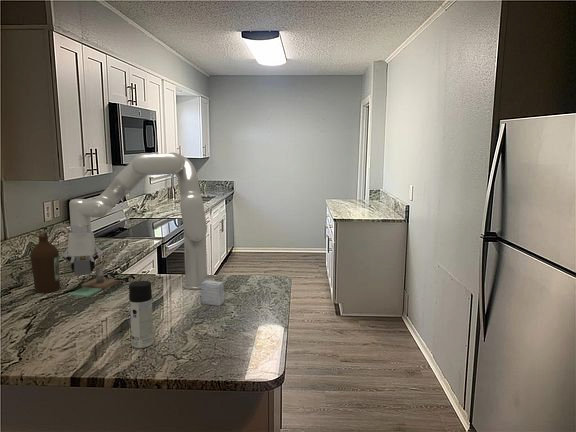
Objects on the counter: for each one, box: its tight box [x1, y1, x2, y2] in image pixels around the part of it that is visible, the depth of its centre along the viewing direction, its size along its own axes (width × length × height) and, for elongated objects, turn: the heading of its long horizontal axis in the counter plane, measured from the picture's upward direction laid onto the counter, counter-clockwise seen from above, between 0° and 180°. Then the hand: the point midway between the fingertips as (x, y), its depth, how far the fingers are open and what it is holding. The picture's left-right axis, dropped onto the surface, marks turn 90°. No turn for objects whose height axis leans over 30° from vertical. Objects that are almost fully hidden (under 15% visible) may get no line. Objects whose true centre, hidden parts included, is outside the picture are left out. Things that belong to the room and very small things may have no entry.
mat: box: [68, 287, 103, 298], centre depth 185 cm, size 9×9×1 cm
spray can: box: [128, 280, 154, 350], centre depth 136 cm, size 7×7×20 cm
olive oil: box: [30, 231, 61, 294], centre depth 186 cm, size 11×11×25 cm
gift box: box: [73, 256, 93, 276], centre depth 183 cm, size 6×6×7 cm
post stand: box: [80, 265, 120, 290], centre depth 195 cm, size 12×10×8 cm
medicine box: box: [200, 280, 225, 307], centre depth 173 cm, size 8×4×9 cm, turn 71°
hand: (83, 270), depth 183 cm, fingers closed on gift box, 6 cm apart
